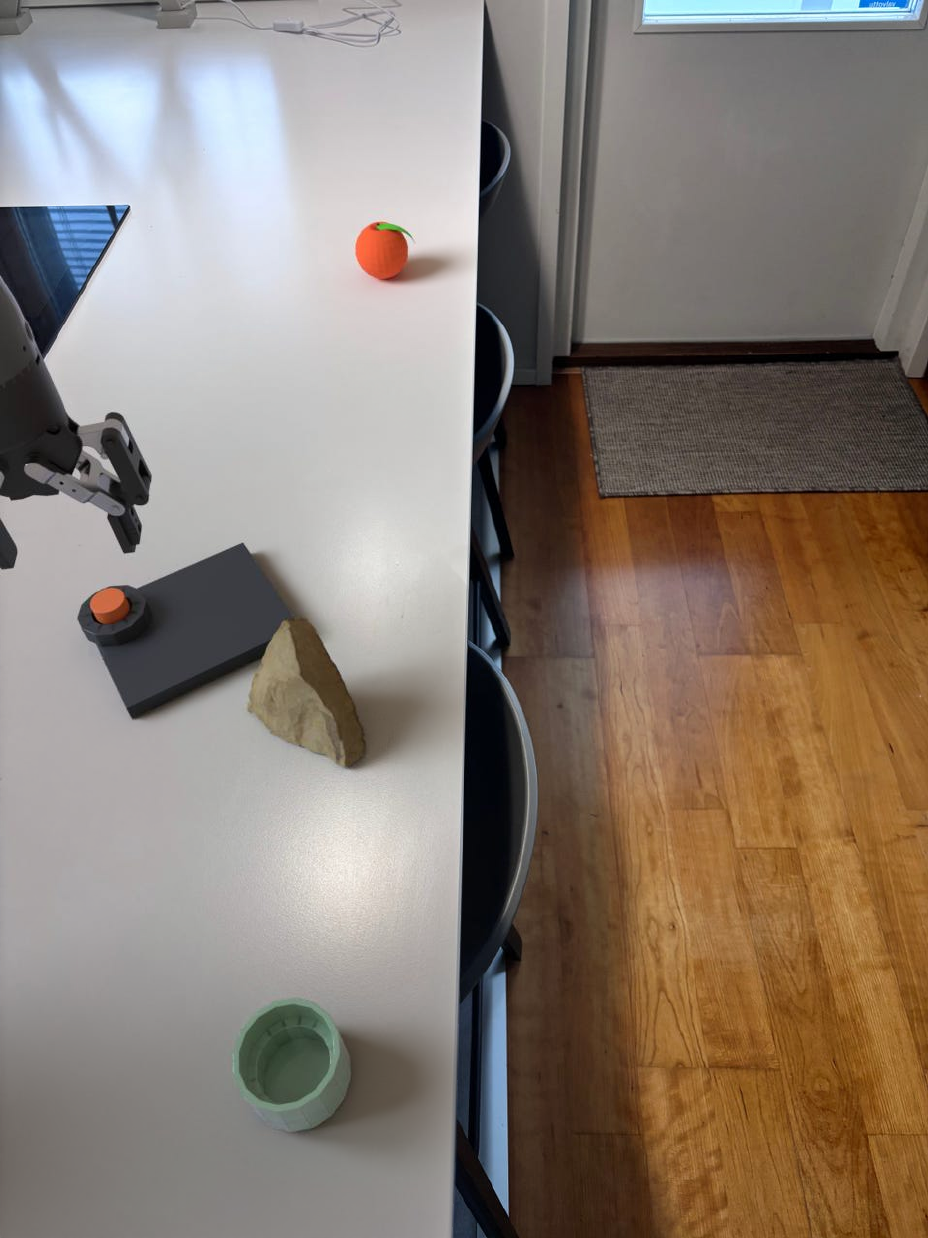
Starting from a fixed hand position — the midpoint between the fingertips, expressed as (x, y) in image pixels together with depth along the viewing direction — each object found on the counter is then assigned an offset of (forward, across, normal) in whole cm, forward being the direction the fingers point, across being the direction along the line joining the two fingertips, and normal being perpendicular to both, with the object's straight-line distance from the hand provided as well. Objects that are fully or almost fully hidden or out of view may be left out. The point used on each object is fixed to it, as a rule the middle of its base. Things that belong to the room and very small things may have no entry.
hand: (71, 553), depth 68 cm
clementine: (+19, +26, +67) cm, 74 cm away
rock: (+18, +14, -5) cm, 23 cm away
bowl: (+18, +12, -32) cm, 39 cm away
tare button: (+15, -3, +8) cm, 18 cm away
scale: (+18, +3, +8) cm, 20 cm away
